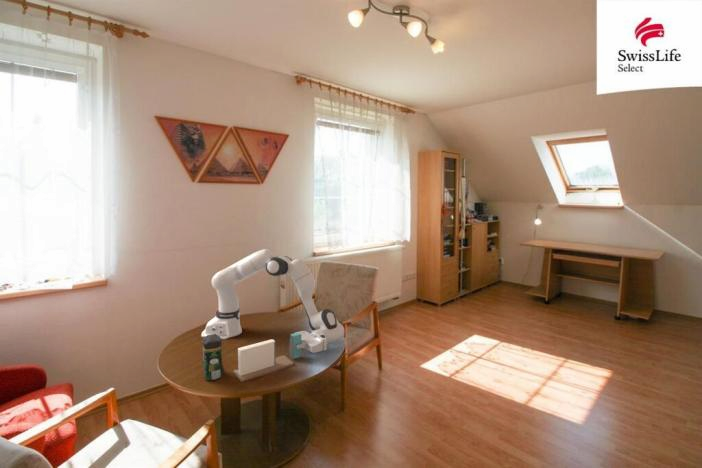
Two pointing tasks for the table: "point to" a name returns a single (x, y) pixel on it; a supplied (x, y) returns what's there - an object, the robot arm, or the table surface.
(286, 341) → the table surface
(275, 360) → the stand
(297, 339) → the teal rectangular block
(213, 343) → the coffee jar
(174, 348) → the table surface
